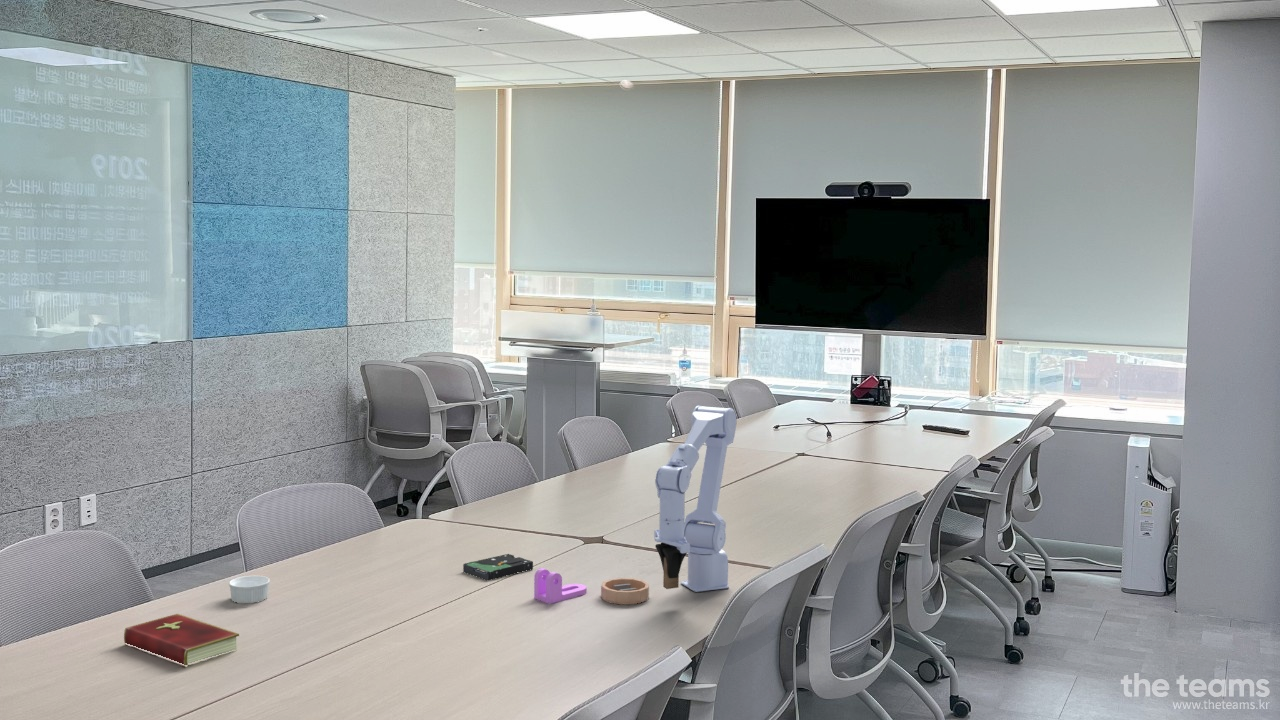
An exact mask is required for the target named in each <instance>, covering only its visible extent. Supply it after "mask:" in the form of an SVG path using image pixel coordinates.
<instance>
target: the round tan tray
mask: <svg viewBox="0 0 1280 720" xmlns="http://www.w3.org/2000/svg"><path fill="white" fill-rule="evenodd" d="M649 595H650V583H648V582H646V581H645V580H643V579H638V578H631V577H629V578H628V577H619V578H611V579H608V580H604V581H603V582H602V583H601V586H600V596H601V599H602V600H603V601H605V602H607V603H610V604H613V603H614V605H622V604H625V605H624V606H627V605H626V604H630V605H637V603H638V604H641V602H642V603H644V601H645V602H646V600H647V599H648V600H649ZM648 600H647V601H648Z"/></svg>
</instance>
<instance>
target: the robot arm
mask: <svg viewBox="0 0 1280 720" xmlns="http://www.w3.org/2000/svg"><path fill="white" fill-rule="evenodd" d="M690 419H691V420H690V421H691V429H690V431H689V433H688V435H687V437H686V439H685V442H684V443H681V444H678V445H677V447H676V449H675V450H674V452H673V453H672V455H671V456H670V458H669V460H668V462H667V464H666V465H662V466H661V467H659V468H658V470H657V471H656V475H655V479H654V484H655V487H656V491H657V497H658V498H659V520H658V521H659V525H658V526H659V527H658V528H659V529H654V530H653V531H654V534H653V537H654V542H656V543H657V544H655V549H656V551H657V553H658V556H659V559H660V561H661V565H662V571H663V572H664V557H666V562H667V571H668V576H669V578H678V575H680V572H681V571H680V570H681V567H682V564H683V561H684V560H685V559H684V558H685V557H686V555H687V580H683V581H680V584H681V585H682V586H684V587H686V588H688V589H690V590H691V591H693V592H695V593H696V592H697V593H700V592H708V591H714V590H715V591H716V590H723V589H729V588H730V585H728V584H729V582H728V581H729V577H728V576H729V559H728V554H727V552H726V551H725V550H724V549H723V548H724V546H725V543H726V538H727V536H726V527H727V526H726V525H727V522H726V521H725V519H724V518H723V517H722V516H721V515H720V514H719V513H718V505H719V499H720V494H721V493H720V492H721V487H722V486H721V485H722V479H723V475H724V468H725V462H726V456H727V450H728V446H729V445H731V444H733V443H734V440H735V434H736V427H737V422H738V421H737V415H736V412H735V410H734V409H733V408H732V407H728V408H726V407H715V406H702V405H696V406H695V407H694V409H693V410H692V413H691V417H690ZM704 443H705V445H706V450H705V457H704V462H703V469H702V475H701V481H700V486H699V494H698V498H697V505H696V509H694V510H693V511H691V512H690V513H687V515H685V513H686V512H685V507H686V506H685V503H686V501H685V498H686V492H687V491H688V489H689V487H690V483H691V482H690V481H691V478H692V472H693V470H694V468H695V466H696V465H697V463H698V461H699V459H700V454H699V450H700V449H701V447H702V446H703V445H704Z"/></svg>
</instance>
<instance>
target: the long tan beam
mask: <svg viewBox="0 0 1280 720" xmlns="http://www.w3.org/2000/svg"><path fill="white" fill-rule="evenodd" d="M679 575H680V574H679ZM679 575H678V578H669V576H668V571H667V562H666V557H664V571H663V577H662V578H663V582H662V583H663V584H662V585H663V588H664V589H666V590H671V589H677V588H679V587H680V584H679V582H680V581H679V577H680V576H679Z"/></svg>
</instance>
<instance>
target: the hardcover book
mask: <svg viewBox="0 0 1280 720" xmlns="http://www.w3.org/2000/svg"><path fill="white" fill-rule="evenodd" d="M237 637H240V634H239V633H238V632H235V631H231V630H228V629H226V628H222V627H220V626H216V625H213V624H210V623H207V622H204V621H201V620H199V619H195V618H192V617H189V616H186V615H184V614H180V613H174V614H171V615H167V616H163V617H161V618H160V617H159V618H156V619H154V620H153V619H152V620H150V621H145V622H142V623H138V624H134V625H131V626H128V627H127V626H126V627H125V629H124V633H123V641H124V644H125V643H127V644H130V645H133V646H136V647H138V648H141V649H144V650H147V651H150V652H152V653H155V654H158V655H161V656H163V657H166V658H169V659H171V660H174V661H177V662H179V663H182V664H184V665H188V663H192V662H195V661H198V660H201V659H205V658H208V657H212V656H216V655H219V654H222V653H226V652H229V651H232V650H236V651H237Z"/></svg>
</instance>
